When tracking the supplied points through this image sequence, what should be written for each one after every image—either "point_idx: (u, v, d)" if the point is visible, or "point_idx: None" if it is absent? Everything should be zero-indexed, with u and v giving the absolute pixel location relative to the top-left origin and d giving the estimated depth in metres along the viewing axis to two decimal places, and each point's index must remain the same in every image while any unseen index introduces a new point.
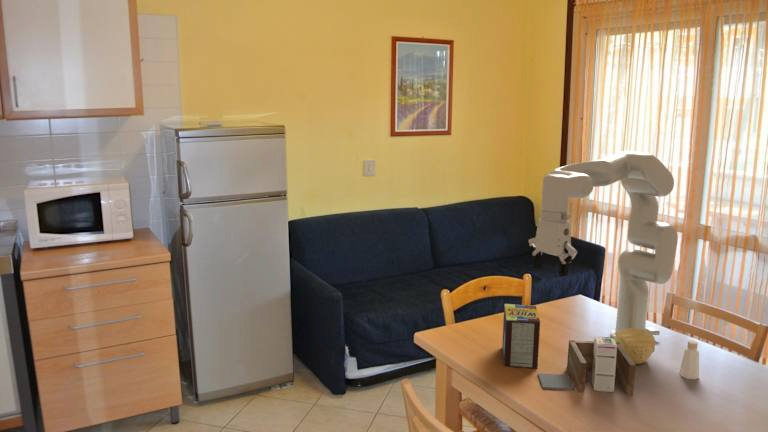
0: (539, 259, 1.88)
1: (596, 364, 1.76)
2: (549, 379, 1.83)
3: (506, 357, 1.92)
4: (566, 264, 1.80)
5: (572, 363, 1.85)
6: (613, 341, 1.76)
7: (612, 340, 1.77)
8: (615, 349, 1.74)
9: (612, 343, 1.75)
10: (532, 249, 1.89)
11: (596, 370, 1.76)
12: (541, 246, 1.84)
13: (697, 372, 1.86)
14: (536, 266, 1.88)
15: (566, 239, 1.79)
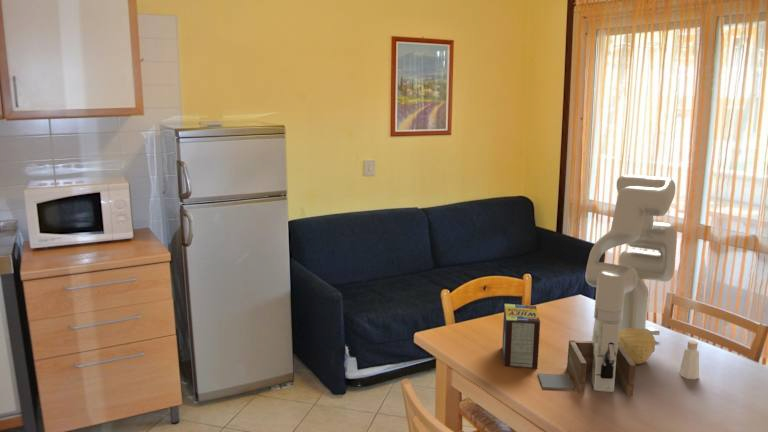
0: None
1: (596, 364, 1.76)
2: (549, 379, 1.83)
3: (506, 357, 1.92)
4: None
5: (572, 363, 1.85)
6: None
7: None
8: None
9: None
10: None
11: (596, 370, 1.76)
12: None
13: (697, 372, 1.86)
14: None
15: None
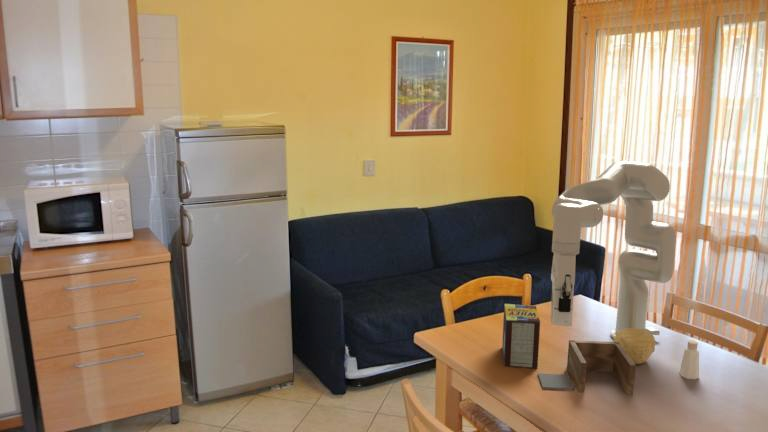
0: None
1: (554, 298, 1.75)
2: (549, 379, 1.83)
3: (506, 357, 1.92)
4: None
5: (572, 363, 1.85)
6: None
7: None
8: None
9: None
10: None
11: (554, 304, 1.75)
12: None
13: (697, 372, 1.86)
14: None
15: None
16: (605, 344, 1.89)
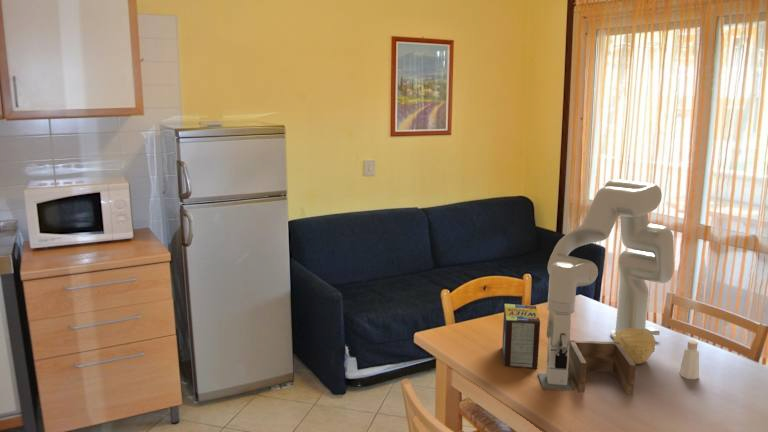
0: None
1: (550, 358, 1.78)
2: None
3: (506, 357, 1.92)
4: None
5: (572, 363, 1.85)
6: None
7: None
8: None
9: None
10: None
11: (550, 364, 1.79)
12: None
13: (697, 372, 1.86)
14: None
15: None
16: (605, 344, 1.89)
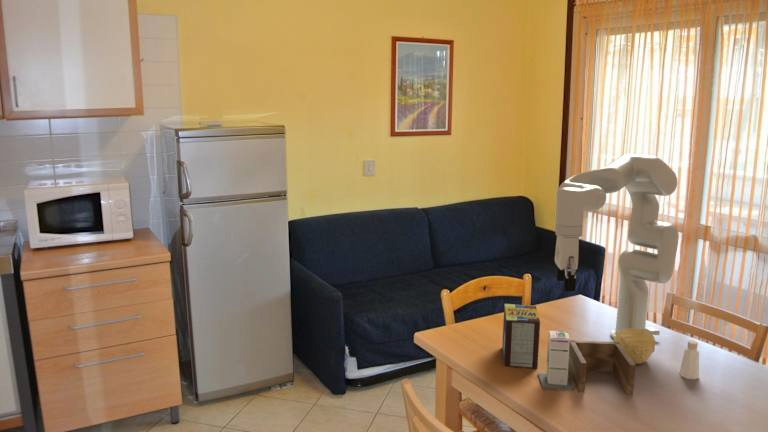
0: None
1: (550, 358, 1.78)
2: None
3: (506, 357, 1.92)
4: None
5: (572, 363, 1.85)
6: (566, 335, 1.79)
7: (565, 334, 1.80)
8: (568, 343, 1.77)
9: (565, 337, 1.77)
10: None
11: (550, 364, 1.79)
12: None
13: (697, 372, 1.86)
14: None
15: None
16: (605, 344, 1.89)
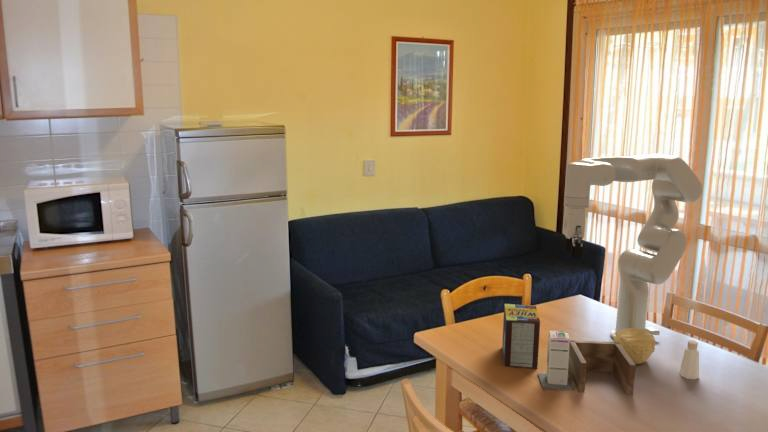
0: None
1: (550, 358, 1.78)
2: None
3: (506, 357, 1.92)
4: None
5: (572, 363, 1.85)
6: (566, 335, 1.79)
7: (565, 334, 1.80)
8: (568, 343, 1.77)
9: (565, 337, 1.77)
10: None
11: (550, 364, 1.79)
12: None
13: (697, 372, 1.86)
14: None
15: None
16: (605, 344, 1.89)
